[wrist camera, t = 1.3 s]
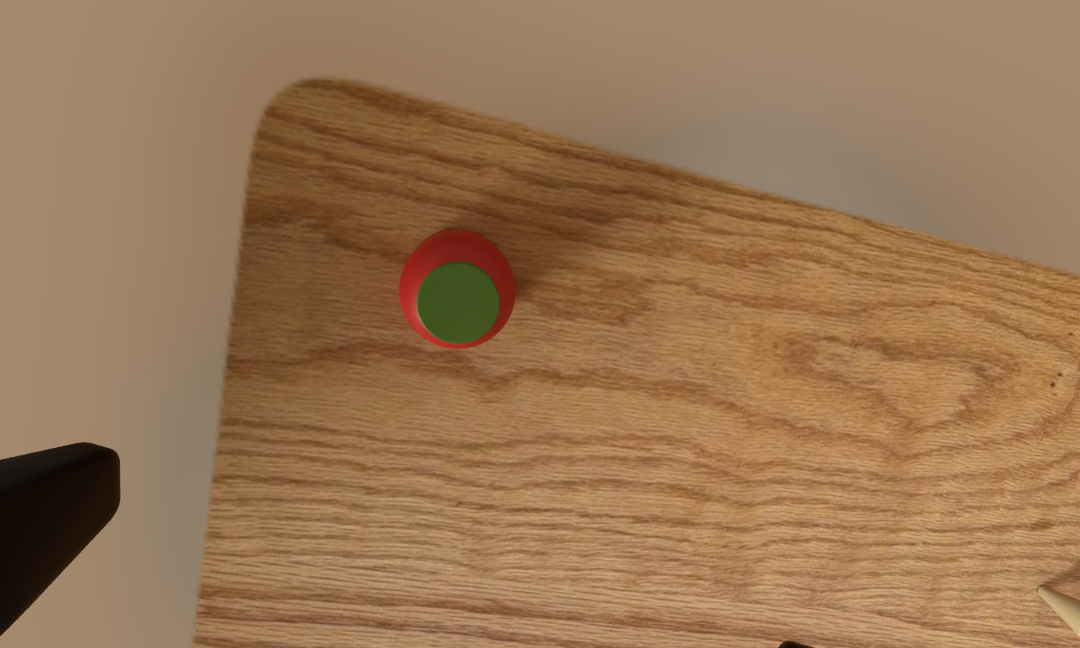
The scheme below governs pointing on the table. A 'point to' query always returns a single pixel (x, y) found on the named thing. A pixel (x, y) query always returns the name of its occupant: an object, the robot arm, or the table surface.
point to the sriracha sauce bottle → (457, 289)
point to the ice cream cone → (1063, 606)
